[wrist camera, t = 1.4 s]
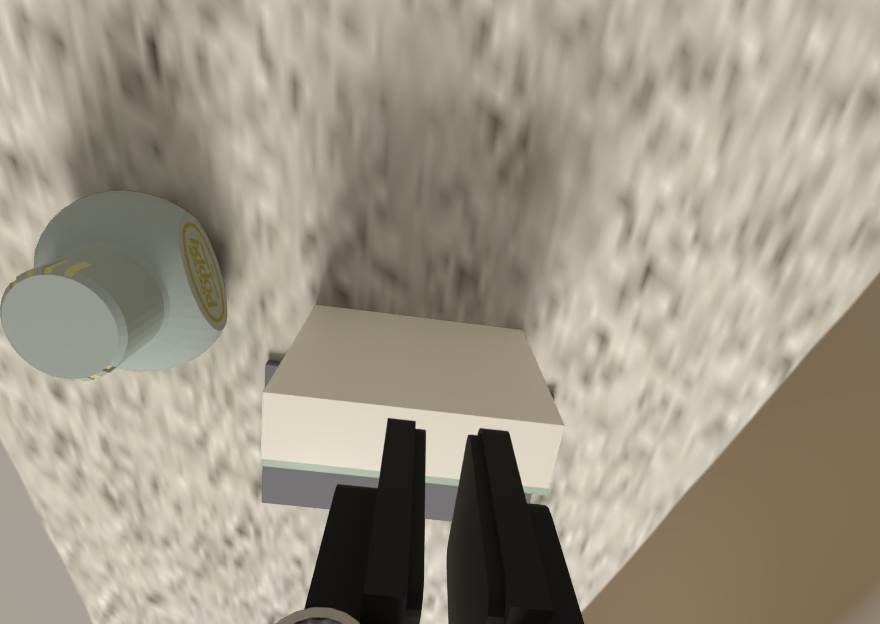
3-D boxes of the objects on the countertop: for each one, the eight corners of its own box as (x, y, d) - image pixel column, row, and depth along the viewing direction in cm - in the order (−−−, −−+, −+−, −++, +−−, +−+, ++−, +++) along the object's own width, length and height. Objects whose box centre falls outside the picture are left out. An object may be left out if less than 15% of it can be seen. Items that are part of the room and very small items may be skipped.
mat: (268, 360, 37) (265, 364, 36) (552, 393, 38) (554, 397, 37) (263, 497, 41) (261, 502, 40) (522, 522, 42) (523, 528, 41)
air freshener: (65, 197, 33) (-81, 229, 23) (195, 174, 32) (100, 197, 23) (130, 357, 37) (26, 440, 27) (247, 337, 36) (183, 415, 27)
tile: (316, 304, 36) (262, 392, 24) (522, 329, 36) (564, 425, 25) (312, 358, 37) (260, 465, 26) (512, 382, 38) (547, 495, 26)
